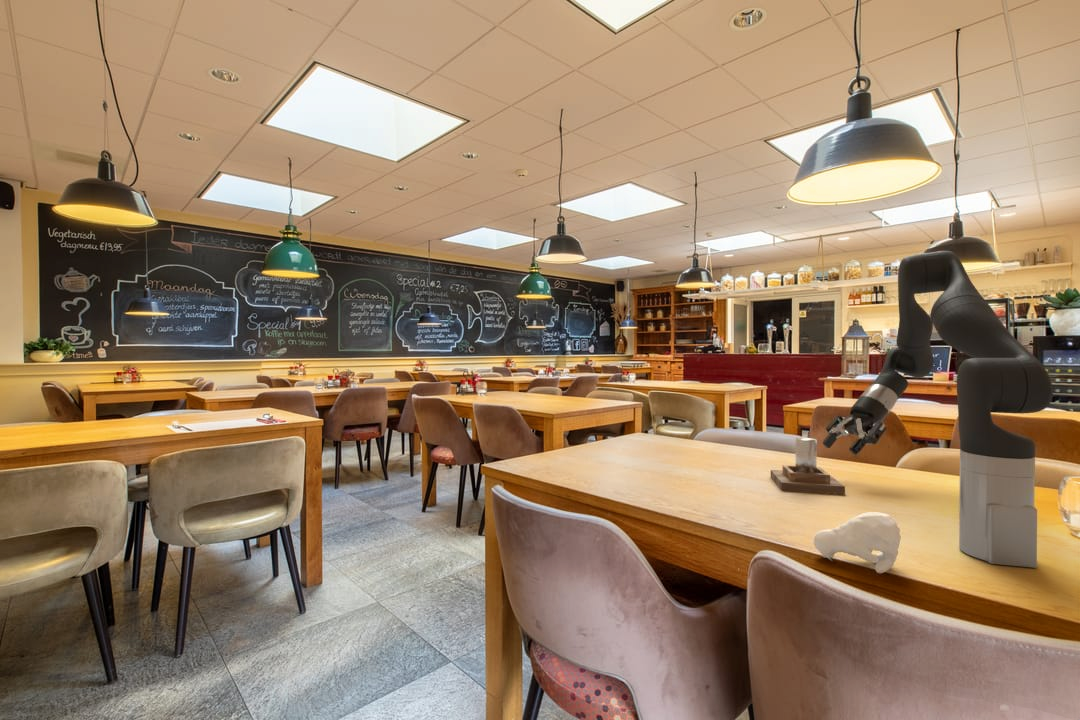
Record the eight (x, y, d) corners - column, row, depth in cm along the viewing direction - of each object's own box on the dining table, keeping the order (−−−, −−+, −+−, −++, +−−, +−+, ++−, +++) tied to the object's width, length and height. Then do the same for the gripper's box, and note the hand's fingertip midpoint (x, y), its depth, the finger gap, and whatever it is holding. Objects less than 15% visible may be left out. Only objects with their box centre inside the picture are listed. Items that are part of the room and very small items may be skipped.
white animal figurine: (901, 520, 74) (810, 515, 79) (907, 577, 73) (815, 568, 79) (895, 509, 79) (810, 505, 85) (901, 562, 79) (815, 554, 85)
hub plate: (844, 494, 118) (845, 478, 118) (781, 490, 122) (781, 474, 122) (827, 480, 131) (827, 465, 131) (770, 477, 135) (770, 462, 135)
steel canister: (818, 480, 124) (819, 441, 123) (798, 479, 125) (798, 440, 125) (813, 475, 128) (813, 438, 128) (793, 474, 129) (793, 437, 129)
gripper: (843, 392, 138) (809, 435, 135) (890, 397, 124) (853, 444, 121) (859, 411, 139) (825, 453, 137) (907, 417, 125) (870, 464, 123)
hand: (838, 449), depth 129 cm, fingers open, 8 cm apart
